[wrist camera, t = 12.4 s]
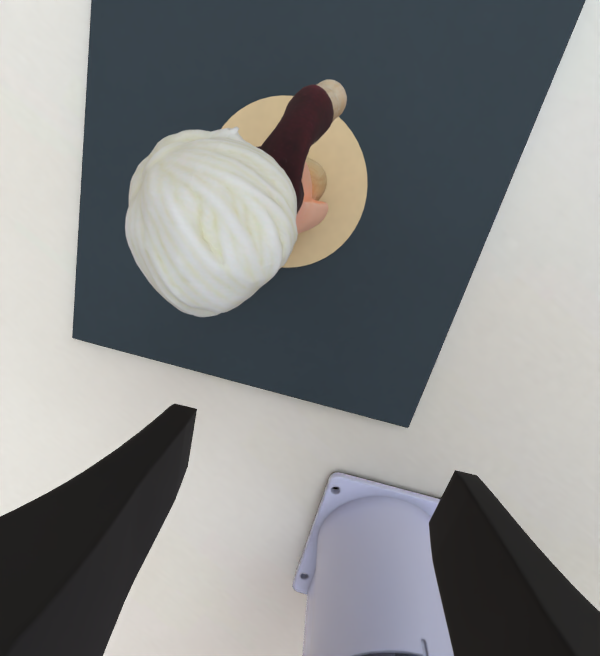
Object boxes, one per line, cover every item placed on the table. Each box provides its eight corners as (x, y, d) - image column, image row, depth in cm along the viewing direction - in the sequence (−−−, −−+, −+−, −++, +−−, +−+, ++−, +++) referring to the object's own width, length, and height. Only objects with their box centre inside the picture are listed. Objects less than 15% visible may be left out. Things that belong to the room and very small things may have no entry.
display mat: (407, 423, 23) (409, 430, 22) (77, 334, 23) (69, 339, 22) (593, -31, 16) (604, -39, 15) (108, -166, 16) (97, -180, 15)
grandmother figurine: (287, 287, 20) (211, 467, 8) (212, 249, 20) (25, 379, 8) (372, 125, 17) (436, 54, 6) (287, 76, 17) (167, -104, 5)
